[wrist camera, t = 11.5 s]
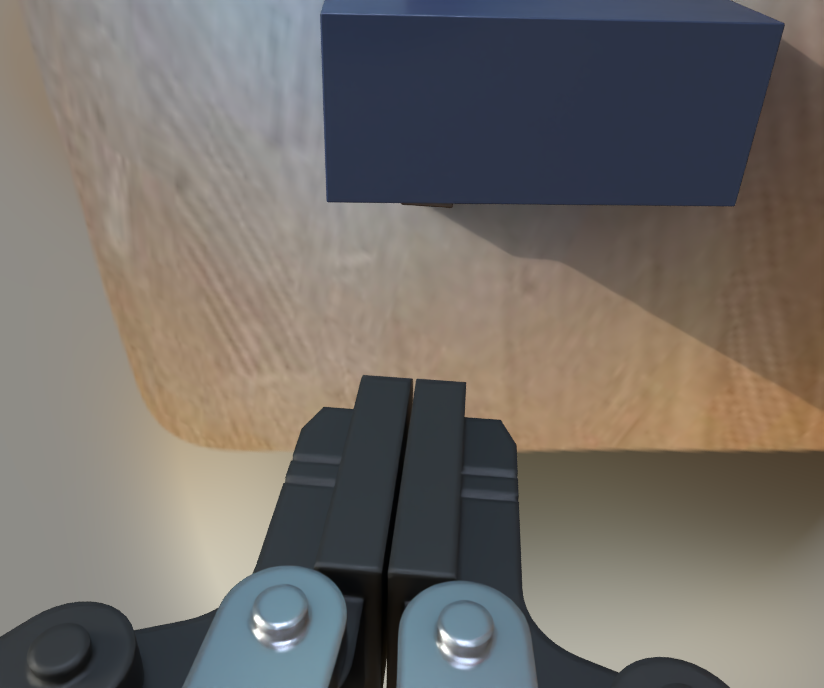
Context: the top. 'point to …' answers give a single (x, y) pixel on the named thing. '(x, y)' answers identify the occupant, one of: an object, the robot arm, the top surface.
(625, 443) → the top surface
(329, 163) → the navy box
